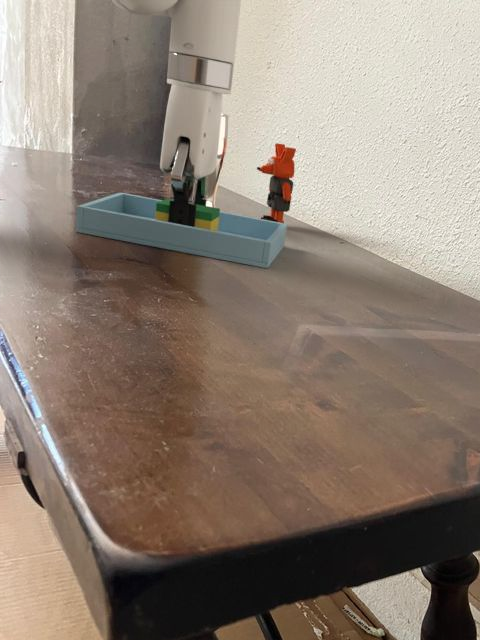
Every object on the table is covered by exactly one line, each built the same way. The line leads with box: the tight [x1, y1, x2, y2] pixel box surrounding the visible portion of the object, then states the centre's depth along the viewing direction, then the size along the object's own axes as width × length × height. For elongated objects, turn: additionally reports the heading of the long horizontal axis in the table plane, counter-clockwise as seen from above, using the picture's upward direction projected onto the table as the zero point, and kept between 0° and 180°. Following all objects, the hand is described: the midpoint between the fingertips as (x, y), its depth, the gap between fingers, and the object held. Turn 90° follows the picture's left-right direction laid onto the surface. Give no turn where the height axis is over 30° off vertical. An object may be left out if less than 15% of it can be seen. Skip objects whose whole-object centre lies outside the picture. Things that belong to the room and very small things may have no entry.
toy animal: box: [256, 142, 297, 224], centre depth 115 cm, size 8×6×12 cm
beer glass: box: [204, 112, 230, 208], centre depth 109 cm, size 7×7×15 cm
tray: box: [75, 191, 288, 269], centre depth 96 cm, size 24×16×3 cm, turn 85°
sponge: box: [155, 198, 221, 231], centre depth 94 cm, size 7×4×4 cm, turn 85°
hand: (185, 230), depth 94 cm, fingers closed on sponge, 4 cm apart
